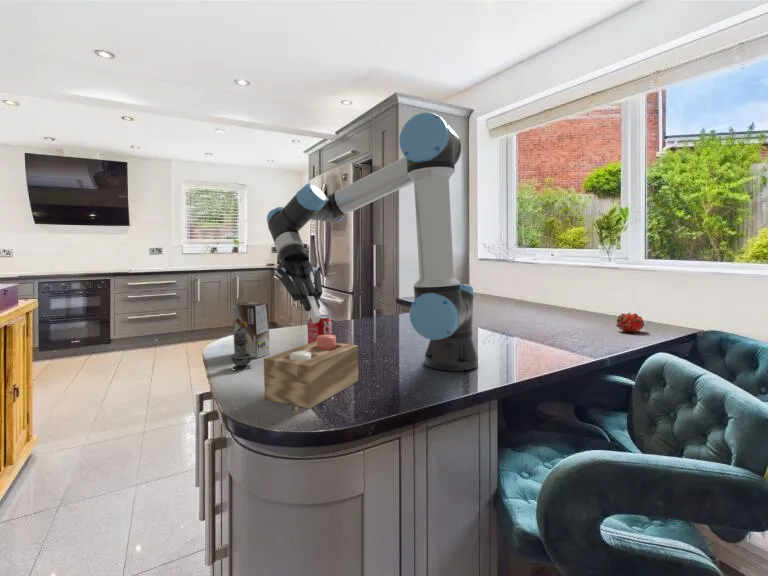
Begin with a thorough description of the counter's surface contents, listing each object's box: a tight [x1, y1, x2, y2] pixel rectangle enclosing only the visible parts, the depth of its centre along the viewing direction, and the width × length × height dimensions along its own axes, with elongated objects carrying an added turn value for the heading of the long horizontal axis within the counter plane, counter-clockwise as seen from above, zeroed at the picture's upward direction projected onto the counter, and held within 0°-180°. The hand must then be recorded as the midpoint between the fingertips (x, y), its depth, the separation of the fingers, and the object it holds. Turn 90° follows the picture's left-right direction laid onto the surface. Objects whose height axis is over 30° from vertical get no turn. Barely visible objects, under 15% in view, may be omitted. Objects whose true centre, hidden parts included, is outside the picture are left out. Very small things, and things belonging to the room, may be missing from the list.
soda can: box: [307, 314, 333, 344], centre depth 121 cm, size 7×7×13 cm
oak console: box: [263, 341, 359, 409], centre depth 95 cm, size 12×20×9 cm, turn 153°
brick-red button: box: [317, 334, 337, 351], centre depth 99 cm, size 5×5×4 cm
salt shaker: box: [229, 325, 253, 371], centre depth 112 cm, size 6×6×12 cm
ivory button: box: [290, 351, 311, 362], centre depth 91 cm, size 5×5×4 cm
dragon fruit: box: [616, 312, 645, 334], centre depth 163 cm, size 8×8×12 cm
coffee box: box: [232, 301, 271, 359], centre depth 126 cm, size 9×6×16 cm
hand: (316, 319), depth 103 cm, fingers closed
